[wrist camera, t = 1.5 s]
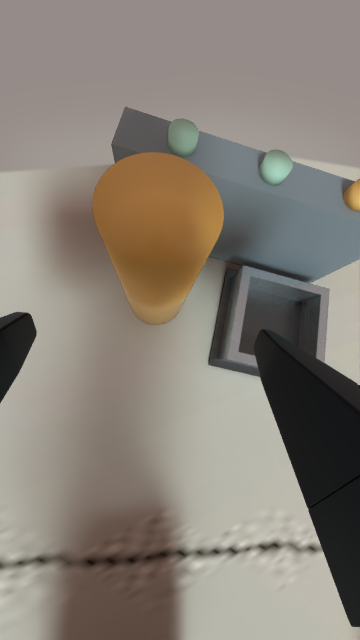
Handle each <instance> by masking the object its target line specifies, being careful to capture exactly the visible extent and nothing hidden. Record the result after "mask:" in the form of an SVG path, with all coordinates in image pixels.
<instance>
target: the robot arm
mask: <svg viewBox="0 0 360 640" xmlns="http://www.w3.org/2000/svg"><path fill="white" fill-rule="evenodd" d="M36 333H37V332H36V328H35V325H34V322H33V319H32V316H31V315H30V314H29V313H24V312H15V313H12V314H9V315H7V316H4V317H1V318H0V403H1V401H2V400H3V398H4V396H5V395H6V393H7V391H8V390H9V388H10V387H11V385H12V383H13V382H14V380H15V378H16V377H17V375H18V373H19V371H20V369H21V368H22V366H23V363H24V361H25V359H26V357H27V355H28V353H29V351H30V348H31V346H32V344H33V342H34V340H35V338H36ZM253 349H254V353H255V358H256V362H257V366H258V370H259V374H260V378H261V381H262V384H263V387H264V390H265V393H266V395H267V398H268V401H269V404H270V406H271V409H272V412H273V415H274V417H275V420H276V423H277V425H278V428H279V431H280V434H281V436H282V439H283V442H284V445H285V447H286V450H287V453H288V456H289V458H290V461H291V464H292V467H293V469H294V472H295V475H296V478H297V480H298V483H299V486H300V488H301V491H302V494H303V497H304V499H305V502H306V505H307V508H308V509H309V510H308V511H309V514H310V516H311V519H312V522H313V525H314V527H315V530H316V533H317V535H318V538H319V541H320V544H321V546H322V549H323V552H324V555H325V557H326V560H327V563H328V566H329V568H330V571H331V574H332V577H333V579H334V582H335V585H336V587H337V590H338V593H339V596H340V598H341V601H342V604H343V607H344V609H345V612H346V615H347V617H348V619H349V622H350V624H351V626H352V627H360V385H358V384H357V383H356V382H354V381H352V380H351V379H349V378H348V377H346V376H344V375H343V374H341V373H340V372H338V371H336V370H335V369H333V368H332V367H330V366H328V365H327V364H325V363H324V362H322V361H320V360H319V359H317V358H315V357H314V356H312V355H311V354H309V353H307V352H306V351H304V350H303V349H301V348H299V347H298V346H296V345H295V344H293V343H291V342H290V341H288V340H287V339H285V338H283V337H282V336H280V335H279V334H277V333H275V332H274V331H272V330H269V329H261V330H260V331H259V333H258V335H257V337H256V340H255V342H254V345H253Z"/></svg>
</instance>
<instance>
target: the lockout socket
mask: <svg viewBox="0 0 360 640" xmlns="http://www.w3.org/2000/svg"><path fill="white" fill-rule="evenodd" d="M329 290H330V289H328V288H324V287H320V286H317V285H313V284H309V283H306V282H302V281H299V280H295V279H291V278H288V277H284V276H280V275H277V274H273V273H270V272H266V271H262V270H259V269H255V268H251V267H248V266H244V265H243V266H242V267H241V268H240V270H239V271H236V270H232V269H229V268H228V269H227V270H226V275H225V280H224V286H223V291H222V296H221V302H220V307H219V312H218V317H217V323H216V328H215V333H214V339H213V344H212V349H211V355H210V360H209V365H211V366H215V367H220V368H224V369H228V370H233V371H237V372H241V373H246V374H250V375H254V376H259V377H260V374H259V370H258V366H257V362H256V358H255V353H254V349H253V345H254V342H255V340H256V337H257V335H258V333H259V331H260V330H261V329H269V330H272V331H274V332H275V333H277V334H279V335H280V336H282V337H283V338H285V339H287V340H288V341H290V342H291V343H293V344H295V345H296V346H298V347H299V348H301V349H303V350H304V351H306V352H307V353H309V354H311V355H312V356H314V357H315V358H317V359H319V360H320V361H322V362H324V361H325V347H326V333H327V318H328V304H329Z"/></svg>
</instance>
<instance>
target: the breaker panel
mask: <svg viewBox="0 0 360 640" xmlns="http://www.w3.org/2000/svg"><path fill="white" fill-rule="evenodd" d="M111 145H112V150H113V155H114V160H115V163H117V162H118V161H120V160H122V159H124V158H126V157H129V156H132V155H135V154H140V153H148V152H158V153H166V154H171V155H174V156H177V157H180V158H183V159H185V160H187V161H189V162H191V163H192V164H194V165H195V166H197V167H198V168H200V169H201V170H202V171H203V172H204V173H205V174H206V175H207V176H208V177H209V178H210V179H211V181H212V182H213V183H214V185H215V186H216V188H217V190H218V192H219V194H220V197H221V200H222V203H223V209H224V220H223V226H222V230H221V233H220V235H219V237H218V239H217V241H216V243H215V245H214V247H213V249H212V251H211V252H210V254H209V256H210V257H214V258H217V259H221V260H225V261H228V262H232V263H235V264H239V265H244V266H248V267H251V268H255V269H259V270H262V271H266V272H270V273H273V274H277V275H280V276H284V277H288V278H291V279H295V280H299V281H302V282H306V283H311V282H313V281H315V280H317V279H320V278H322V277H324V276H326V275H328V274H330V273H332V272H334V271H336V270H338V269H340V268H342V267H344V266H346V265H348V264H350V263H352V262H355V261H357V260H359V259H360V179H358V180H357V181H356V182H355V181H352V180H348V179H345V178H342V177H339V176H336V175H333V174H330V173H327V172H324V171H321V170H318V169H315V168H312V167H309V166H305V165H302V164H299V163H296V162H293V161H292V160H291V158H290V157H289V155H287V154H286V153H285V152H283V151H281V150H271V151H269V152H268V153H266V152H262V151H259V150H256V149H253V148H250V147H247V146H244V145H241V144H238V143H235V142H232V141H229V140H225V139H223V138H220V137H216V136H213V135H210V134H207V133H204V132H201V131H198V128H197V126H196V125H195V124H194V123H193V122H191V121H189V120H186V119H176V120H174V121H172V122H170V121H167V120H164V119H161V118H158V117H155V116H152V115H149V114H146V113H143V112H139V111H137V110H133V109H130V108H127V107H125V109H124V111H123V114H122V117H121V119H120V122H119V125H118V128H117V130H116V133H115V136H114V138H113V141H112V144H111Z"/></svg>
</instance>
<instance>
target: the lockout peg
mask: <svg viewBox="0 0 360 640" xmlns="http://www.w3.org/2000/svg"><path fill="white" fill-rule="evenodd" d="M93 214H94V219H95V222H96V225H97V228H98V230H99V232H100V235H101V237H102V239H103V242H104V244H105V247H106V249H107V251H108V254H109V256H110V258H111V261H112V263H113V265H114V268H115V270H116V272H117V275H118V277H119V280H120V282H121V284H122V287H123V289H124V291H125V294H126V296H127V298H128V301H129V303H130V305H131V308H132V310H133V312H134V313H135V315H136V316H137V317H138V318H139V319H140V320H142V321H144V322H146V323H148V324H153V325H159V324H164V323H167V322H169V321H171V320H172V319H173V318H174V317H175V316H176V315H177V314H178V312H179V310H180V308H181V307H182V305H183V303H184V301H185V299H186V297H187V295H188V294H189V292H190V290H191V288H192V286H193V284H194V282H195V280H196V279H197V277H198V275H199V273H200V271H201V269H202V267H203V266H204V264H205V262H206V260H207V258H208V256H209V254H210V252H211V251H212V249H213V247H214V245H215V243H216V241H217V239H218V237H219V235H220V233H221V230H222V226H223V220H224V209H223V203H222V200H221V197H220V194H219V192H218V190H217V188H216V186H215V185H214V183H213V182H212V181H211V179H210V178H209V177H208V176H207V175H206V174H205V173H204V172H203V171H202V170H201V169H200V168H198V167H197V166H195V165H194V164H192V163H191V162H189V161H187V160H185V159H183V158H180V157H177V156H174V155H171V154H166V153H158V152H148V153H140V154H135V155H132V156H129V157H126V158H124V159H122V160H120V161H118V162H117V163H115V164H114V165H112V166H111V167H110V168H109V169H108V170H107V171H106V172H105V173H104V174H103V175H102V177H101V178H100V180H99V182H98V184H97V186H96V188H95V192H94V195H93Z"/></svg>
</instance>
